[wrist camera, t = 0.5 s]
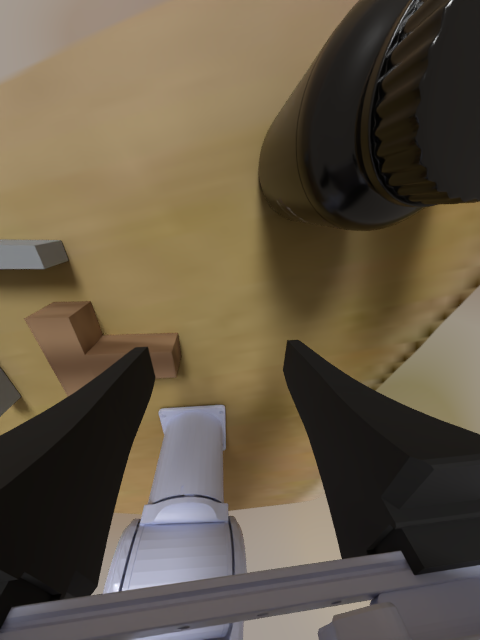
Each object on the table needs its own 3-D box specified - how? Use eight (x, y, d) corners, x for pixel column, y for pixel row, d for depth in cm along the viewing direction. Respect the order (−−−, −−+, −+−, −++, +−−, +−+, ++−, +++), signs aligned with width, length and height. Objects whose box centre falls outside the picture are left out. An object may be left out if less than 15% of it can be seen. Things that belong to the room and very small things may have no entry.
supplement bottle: (269, 233, 16) (360, 278, 6) (245, 123, 13) (358, -237, 2) (353, 204, 16) (617, 196, 5) (351, 83, 13) (1030, -560, 2)
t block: (185, 380, 23) (180, 402, 20) (92, 385, 22) (75, 409, 20) (172, 300, 18) (165, 315, 16) (53, 301, 17) (24, 318, 15)
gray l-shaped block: (118, 391, 23) (107, 410, 21) (6, 397, 22) (-18, 418, 20) (61, 240, 15) (34, 245, 13) (-117, 238, 14) (-179, 243, 12)
